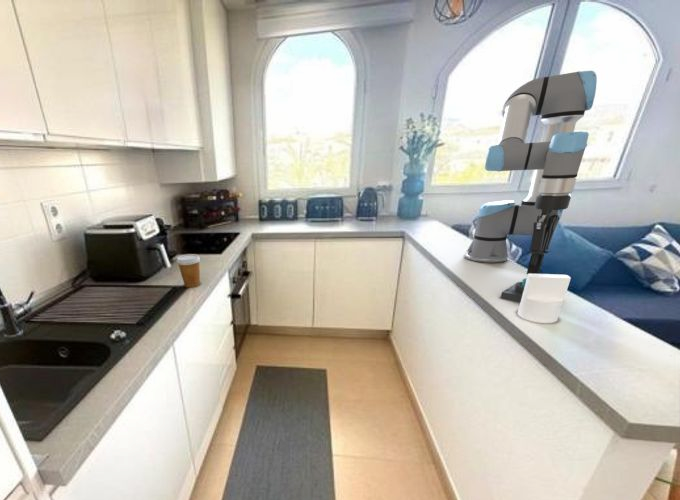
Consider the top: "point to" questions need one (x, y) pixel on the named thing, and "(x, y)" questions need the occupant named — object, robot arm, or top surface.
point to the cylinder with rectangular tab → (543, 297)
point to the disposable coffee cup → (189, 269)
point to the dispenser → (513, 292)
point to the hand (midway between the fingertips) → (532, 274)
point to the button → (524, 282)
